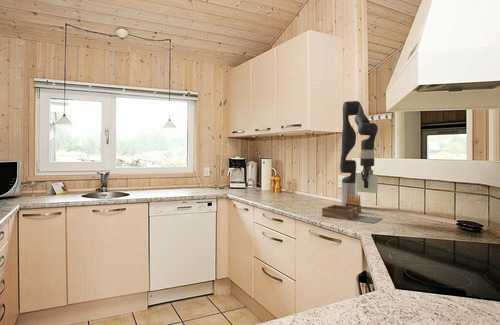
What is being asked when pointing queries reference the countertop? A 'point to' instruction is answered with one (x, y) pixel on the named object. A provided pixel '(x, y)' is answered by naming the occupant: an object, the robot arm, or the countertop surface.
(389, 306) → the countertop surface
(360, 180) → the pale green rectangular block
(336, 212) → the walnut box
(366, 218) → the rubber mat
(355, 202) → the ammunition clip
